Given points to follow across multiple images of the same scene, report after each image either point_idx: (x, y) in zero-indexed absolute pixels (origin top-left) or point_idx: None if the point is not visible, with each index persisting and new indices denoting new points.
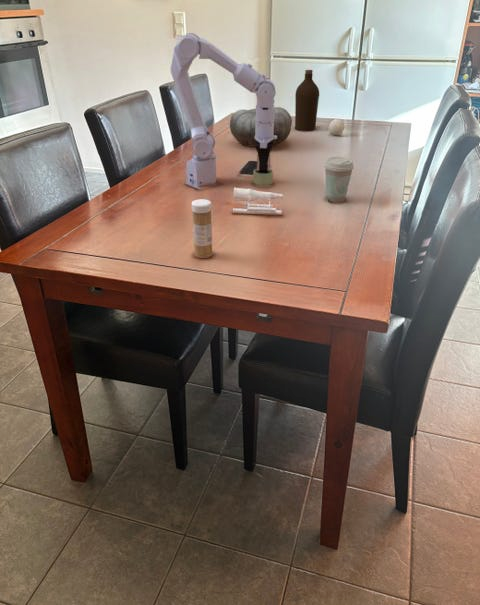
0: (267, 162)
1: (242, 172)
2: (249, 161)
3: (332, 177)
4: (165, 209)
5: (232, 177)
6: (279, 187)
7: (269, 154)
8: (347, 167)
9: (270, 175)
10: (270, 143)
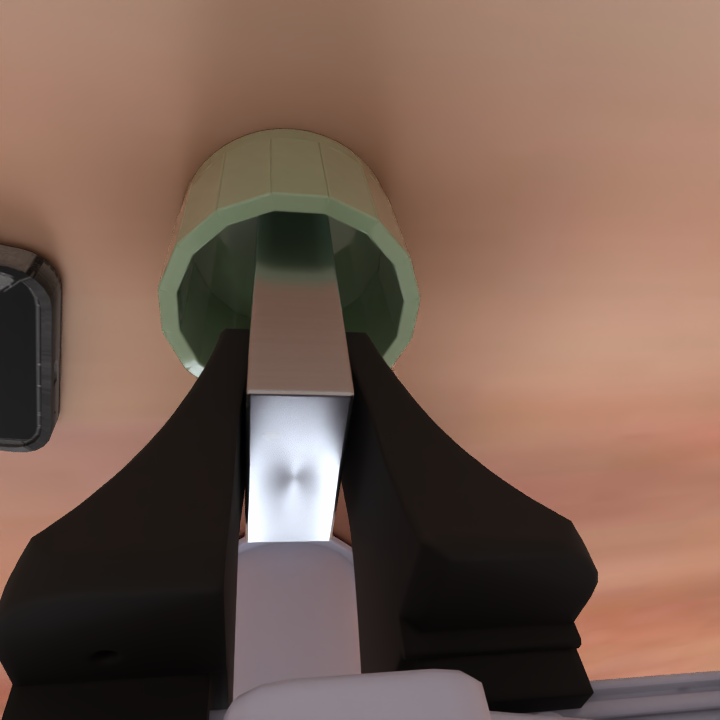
0: (383, 360)
1: (26, 428)
2: None
3: None
4: (634, 630)
5: (108, 464)
6: (393, 52)
7: (271, 405)
8: None
9: (386, 222)
10: (226, 587)
